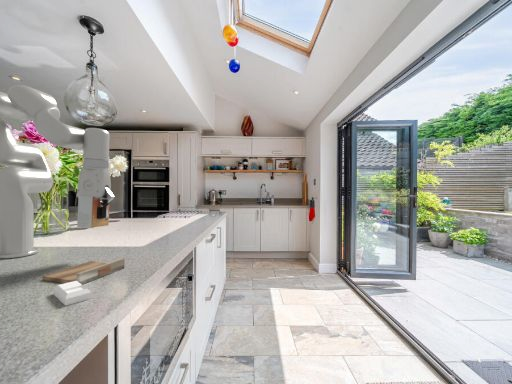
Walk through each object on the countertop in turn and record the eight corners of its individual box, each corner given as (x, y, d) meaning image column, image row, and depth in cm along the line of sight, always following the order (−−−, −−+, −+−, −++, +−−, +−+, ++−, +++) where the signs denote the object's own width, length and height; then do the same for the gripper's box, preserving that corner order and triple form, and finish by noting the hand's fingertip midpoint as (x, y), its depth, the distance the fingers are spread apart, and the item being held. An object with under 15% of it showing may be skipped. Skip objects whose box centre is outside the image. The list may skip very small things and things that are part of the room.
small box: (90, 228, 85) (92, 196, 85) (76, 227, 86) (77, 195, 86) (109, 225, 93) (110, 196, 93) (95, 224, 94) (97, 195, 94)
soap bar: (78, 289, 65) (78, 279, 65) (91, 300, 60) (91, 288, 60) (53, 295, 62) (53, 284, 61) (65, 307, 56) (65, 295, 56)
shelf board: (42, 279, 70) (42, 268, 70) (91, 264, 85) (91, 254, 85) (80, 285, 67) (80, 274, 67) (124, 268, 81) (125, 258, 81)
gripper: (66, 163, 88) (64, 216, 88) (107, 165, 83) (105, 221, 84) (86, 165, 95) (84, 214, 96) (124, 167, 91) (122, 218, 91)
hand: (93, 217), depth 90 cm, fingers closed on small box, 5 cm apart
